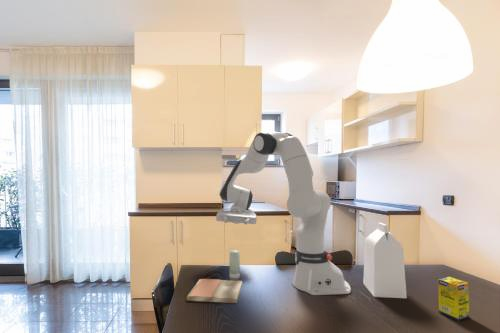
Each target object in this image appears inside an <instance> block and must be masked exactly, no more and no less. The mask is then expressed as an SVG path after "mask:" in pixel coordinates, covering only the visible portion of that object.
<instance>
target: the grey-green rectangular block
mask: <svg viewBox="0 0 500 333" xmlns="http://www.w3.org/2000/svg"><path fill="white" fill-rule="evenodd" d="M240 254H241V251H240V250H239V249H238V250H237V249H234V250H229V279H228V280H233V281H241V280H240V279H241V278H240V277H241V276H240V274H241V273H240V271H241V270H240V269H241V268H240V266H241V265H240V264H241V263H240V258H241V257H240V256H241V255H240Z"/></svg>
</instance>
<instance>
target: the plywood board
mask: <svg viewBox="0 0 500 333" xmlns="http://www.w3.org/2000/svg"><path fill="white" fill-rule="evenodd" d="M242 287H243V281H242V280H239V281H233V280H229V279H228V280H227V279H215V278H213V279H212V278H199V279H198V281H197V282H196V284H195V285H194V286H193V288H192V289H191V290H190V292H188V295H187V296H186V301H187V302H189V301H190V302H205V303H207V302H208V303H225V304H226V303H228V304H237V303H238V300H239V297H240V293H241V289H242Z"/></svg>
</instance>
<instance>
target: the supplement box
mask: <svg viewBox="0 0 500 333" xmlns="http://www.w3.org/2000/svg"><path fill="white" fill-rule="evenodd" d="M437 284H438V286H437V287H438V288H437V289H438V313H439V314H441V313H442V315H444V316H446V317H448V318H451V319H452V320H455V321H457V322H459V321H462V320H465V319H469V318H470V297H469V296H470V295H469V282H467V281H464V280H461V279H457V278H454V277H452V276H447V277H444V278H443V277H442V278H438V283H437ZM468 317H469V318H468Z"/></svg>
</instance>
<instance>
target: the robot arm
mask: <svg viewBox="0 0 500 333" xmlns="http://www.w3.org/2000/svg"><path fill="white" fill-rule="evenodd" d="M270 156H279V157H280V158H281V161H282V165H283V169H284V171H285V174H286V178H287V182H288V194H289V195H288V198H287V200H286V209H287V211H288V213H289V214H290V215H291V216H292V217H294V218H298V219H300V223H299V225H298V227H297V229H296V249H295V254H294V255H295V256H294V258H295V261H294V262H295V273H294V277H293V280H292V281H293V282H292V285H293V286H294V288H296V289H298V290H300V291H303V292H305V293H308V294H309V295H311V296H327V295H347V294H350V293H351V292H352V289H351V286H350V284H349V282H347V281H346V280H345V278H344V277H345V276H344V274H343V272H342V270H341V269H340V268H339V267H338V266H336V265H335V264H334V263H333V262H331V261H332V259H333V256H332V254H331V253H329V252H328V251H326V250H325V228H326V224H327V217H328V212H329V209H330V207H331V204H332V200H331V197H330V195H328V193H326V192H325V191H323V190H319V189H314V185H313V184H314V183H313V177H314V172H313V168H312V165H311V163H310V159H309V157H308V154H307V152H306V150H305V147H304V146H303V144H302V142H301V140H300V139H299V138H298V137H297V136H294V135H293V134H291V133H288V132H279V131H261V132H258V133H257V134H255V136H254V138H253V140H252V141H251V143H250V145H249V148H248V149H247V153H246V155H245V156H244V158H242V159H239V160H238V161H237V162H236V163H235V165H234V166H233V167H232V170H230V173H229V175H228V177H227V178H226V180H225V181H224V183H223V184H222V186H221V188H220V190H219V196H220V198H221V200H222V201H225V202H230V203H232V204H231V206H230V208H229V211H220V210H219V211H218V212H217V213H216V219H215V220H216V221H217V222H224V223H226V224H227V223H233V224H234V225H235V224H237V225H238V224H243V225H248V224H249V225H256V224H257V217H258V216H257V214H256V213H255V212H254V210H253V209H250V207H251V205H252V203H253V195H254V194H253V192H252V191H251V189H247V188H245V187H243V186H239V185H236V184H234V182H235V181H236V179H237V177H238V176H239V175H243V174H256V173H259V172H262V170H264V168H265V167H266V165H267V163H268V162H267V161H268V159H269V157H270Z"/></svg>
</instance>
